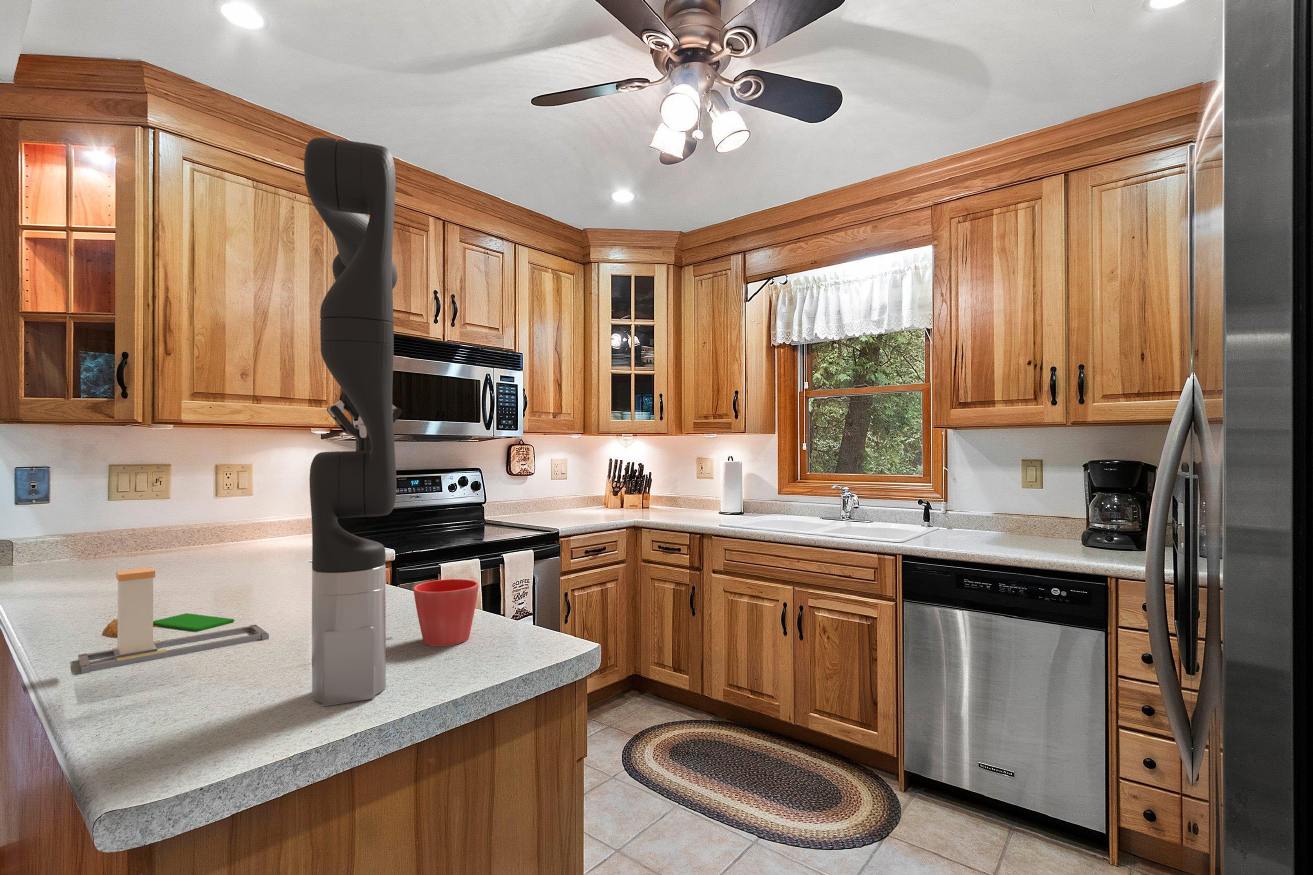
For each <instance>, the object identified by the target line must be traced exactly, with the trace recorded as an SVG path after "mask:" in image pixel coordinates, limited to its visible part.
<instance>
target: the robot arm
mask: <svg viewBox="0 0 1313 875" xmlns="http://www.w3.org/2000/svg"><path fill="white" fill-rule="evenodd" d="M303 173H304V175H303V176H304V182H305V186H306V190H307V193H308V197H309V199H310V201H311V202H312V205H313V206H314V208H315V209H316V211H317V213H318V214H319V217H321V219H322V220H323V223H324V224H325V225H326V227H327V228H328V230H329V231H330V232H331V234H332V236H333V239H334V241H335V245H336V249H337V252H338V253H337V254H336V256H335V257H334V258H333V262H332V265H331V266H332V267H331V268H332V273H333V278H334V280H335V281H334V282H333V284H332V285H331V286H330V288H329V290H328V291H327V293H326V294H325V296H324V297H323V300H322V302H321V305H320V311H319V312H320V314H319V318H320V322H319V324H320V328H319V330H320V331H319V332H320V337H319V339H320V354H321V355H320V356H321V357H322V359H323V362H324V365H325V366H326V367H327V370H328V371H329V372H330V373H331V375H332V377H333V378H334V380H335V381H336V383H337V384H338V385H339V387H340V388H341V389H342V391H341V394H340V396H339V400H338V401H337V402H336V403H334V404H333V405H331V406H330V405H329V406H328V407H327V408H326V411H327V413H328V414H329V416H330V417H331V418H332V419H333V420H334V422H335V423H336V424H337V426H338V427H339V428H340V429H341V430H342V431H343V432H344V434H345V435H349V436H352V437H354V439H355V451H354V450H353V451H351V450H347V451H346V450H345V451H343V450H342V451H322V452H321V451H320V452H318V453H317V454H316V455H315V456H314V457H313V459H312V461H311V464H310V467H309V499H310V500H309V501H310V513H311V514H310V515H311V536H312V537H311V538H312V539H311V542H312V545H311V548H312V551H311V552H312V553H311V698H312V700H314V701H315V702H317V703H321V704H322V706H323V707H326V706H327V707H328V706H333V705H340V704H345V703H346V704H347V703H352V702H360V701H365V700H372V699H375V696H376V695H378V694H380V693H381V692H382V691H384V690H385V689H386V687H387V686H386V684H387V683H386V680H387V678H386V677H387V672H386V671H387V668H386V667H387V666H386V665H387V664H386V663H387V660H386V659H387V657H386V654H387V652H386V651H387V650H386V648H387V647H386V645H387V644H386V643H387V642H386V640H387V639H386V633H387V632H386V628H387V627H386V626H387V625H386V621H387V620H386V618H387V617H386V614H387V613H386V611H387V610H386V609H387V608H386V605H387V604H386V584H387V583H386V581H387V580H386V575H387V574H386V567H387V566H386V560H387V558H386V557H387V556H386V554H387V553H386V549H385V545H384V544H382V543H381V542H378V541H375V540H371V539H367V538H363V537H360V536H357V535H355V534H353V533H350V532H349V531H347V530H345V529H344V528H343V527H342V526H341V525H340V523H339V521H338V519H342V518H343V519H345V518H365V517H366V518H367V517H370V518H371V517H372V518H373V517H383V516H388V515H390V514H391V513H392V511H393V510H394V508H395V505H396V500H397V486H398V485H397V466H396V464H397V463H396V462H397V461H396V449H395V434H394V433H395V431H394V423H395V422H396V421H397V419H398V418H399V417H400V416H401V415H402V413H403V409H401V407H396V406H395V405H394V404H393V383H394V382H393V381H394V380H393V379H394V378H393V377H394V376H393V375H394V350H395V348H394V347H395V346H394V344H395V343H394V340H395V339H394V338H395V337H394V334H395V332H394V329H395V328H394V324H395V323H394V322H395V321H394V298H393V297H394V296H393V294H394V293H393V289H395V286H396V285H397V281H398V272H397V267H396V264H395V262H394V260H393V242H394V224H395V223H394V222H395V209H396V208H395V205H396V188H397V186H396V185H397V184H396V182H397V181H396V167H395V161H394V158H393V155H392V153H391V151H390V150H389V149H388V148H387V147H385V146H383V145H378V144H373V143H370V142H369V143H368V142H359V141H352V140H345V139H338V138H334V137H332V138H331V137H315V138H312V139H311V140H309V141H308V143H307V144H306V147H305V150H304V160H303ZM368 215H369V216H368ZM345 411H346V412H347V413H348V414H349V416H350V417H351V418H352V422H351V421H350V420H349V419H348V418H347V417H346V415H345Z"/></svg>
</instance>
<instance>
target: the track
mask: <svg viewBox="0 0 1313 875" xmlns="http://www.w3.org/2000/svg"><path fill="white" fill-rule="evenodd" d="M245 633H246V634H247V633H253V634H251V635H245V636H244V635H243V636H239V637H233V638H228V639H222V640H217V641H211V642H206V643H201V644H200V643H199V644H195V645H190V646H189V645H188V646H184V647H177V648H174V649H166V648H167V647H172V646H178V645H179V646H180V645H185V644H189V643H190V644H191V643H196V642H202V641H206V640H213V639H218V638H225V637H230V636H235V635H236V636H237V635H242V634H245ZM269 639H270V634H269V633H268V632H267V631H265V630H264V629H263V628H262V627H261V626H259V625H257V624H249V626H243V627H237V628H231V629H226V630H225V629H224V630H220V631H212V632H208V633H202V634H196V635H195V634H194V635H191V636H189V635H188V636H183V637H178V638H172V639H167V640H153V643H154V644H155V646H156V647H157V649H158V650H157V651H153V652H148V653H142V654H136V655H131V656H125V657H120V658H116V660H114V659H111V660H106V661H100V662H95V663H90V661H94V660H99V659H100V660H101V659H105V658H110V657H112V658H113V649H116V648H117V647H113V648H111V649H108V650H102V651H97V652H90V653H81V654H80V653H79V654H78V655H77V660H78V665H79V669H80V674H81V675H83V674H84V675H85V674H90V673H91V672H96V671H100V670H106V669H111V668H116V667H123V666H126V665H133V664H140V663H144V662H149V661H156V660H159V659H165V658H170V657H175V656H181V655H186V654H192V653H193V654H194V653H196V652H203V651H209V650H214V649H219V648H225V647H229V646H235V645H236V646H237V645H241V644H245V643H250V642H251V643H252V642H257V641H264V640H265V641H266V640H269ZM161 648H165V649H161ZM159 649H160V650H159Z"/></svg>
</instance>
